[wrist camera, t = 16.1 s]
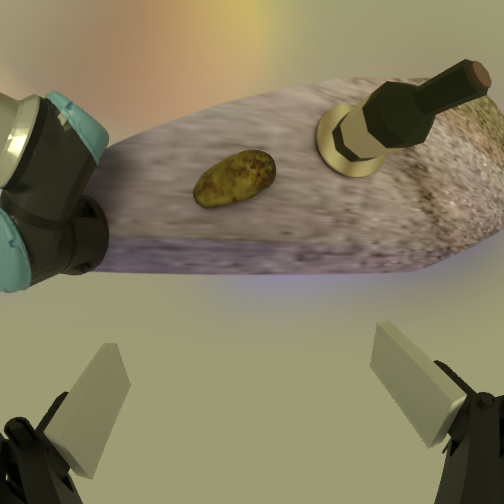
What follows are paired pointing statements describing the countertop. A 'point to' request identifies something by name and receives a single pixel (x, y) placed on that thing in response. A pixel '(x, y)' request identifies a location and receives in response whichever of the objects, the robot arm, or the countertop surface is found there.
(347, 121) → the wine bottle
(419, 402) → the robot arm
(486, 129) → the countertop surface
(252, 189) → the potato
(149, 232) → the countertop surface
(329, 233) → the countertop surface
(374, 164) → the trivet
